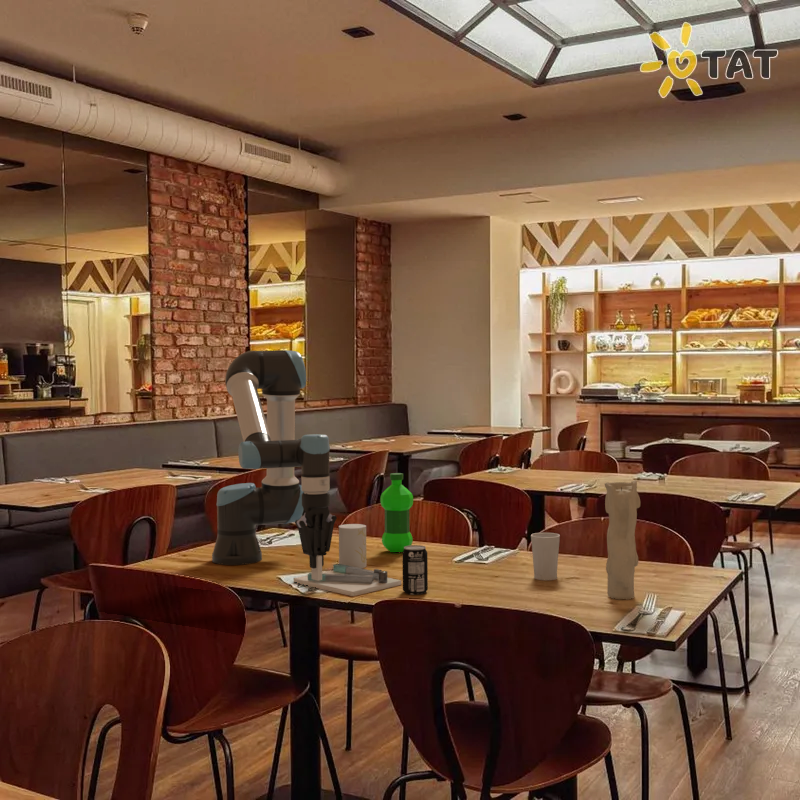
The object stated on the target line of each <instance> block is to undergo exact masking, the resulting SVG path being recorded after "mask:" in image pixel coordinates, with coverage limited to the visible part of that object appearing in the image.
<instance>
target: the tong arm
mask: <svg viewBox="0 0 800 800" xmlns="http://www.w3.org/2000/svg"><path fill="white" fill-rule="evenodd" d="M307 575H308V580H313V579H312V577H311V572H309V573H308V574H307ZM313 581H317V580H313ZM319 581H341V582H367V583H372V582H373V581H374V575H351V574H326V573H322V580H319Z"/></svg>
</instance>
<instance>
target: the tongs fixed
mask: <svg viewBox="0 0 800 800" xmlns="http://www.w3.org/2000/svg"><path fill="white" fill-rule="evenodd" d="M332 570H334V572H339V573H344V574H351V575H374V580H377V581H379V583H387V582H388V578H389V577H388V571H387V570H386V571H385V570H382V569H378V568H375V569H366V568H357V567H352V566H348V565H343V564H339V563H336V564H333V566H332Z"/></svg>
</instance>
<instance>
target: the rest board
mask: <svg viewBox="0 0 800 800" xmlns="http://www.w3.org/2000/svg"><path fill="white" fill-rule="evenodd" d="M322 573H326V574H344V573H339V572H334V569H332V570H326V571H322ZM294 582H297V583H296V584H298V583H300V584H299V585H302V584H304V585H303V586H306V585H308V586H307V587H310V586H313V587H312V588H315V587H316V589H321V590H325V591H329V592H333V593H336V594H341V595H346V596H350V597H355V596H356V597H357V596H360V595H364V594H369V593H372V592H377V591H382V590H385V589H389V588H393V587H398V586H401V585H402V579H401V580H400V579H398V578H397V579H396V578H392V577H388V582H387V583H379V581H377V580H374V581H373V582H372V583H367V582H341V581H313V580H308V574H307V575H303V576H298V577H293V583H294Z"/></svg>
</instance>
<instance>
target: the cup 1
mask: <svg viewBox="0 0 800 800" xmlns="http://www.w3.org/2000/svg"><path fill="white" fill-rule="evenodd" d="M367 563H368V562H367V525H365V524H362V523H348V524H347V523H346V524H340V525H338V564H343V565H348V566H352V567H357V568H362V569H366V567H367Z"/></svg>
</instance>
